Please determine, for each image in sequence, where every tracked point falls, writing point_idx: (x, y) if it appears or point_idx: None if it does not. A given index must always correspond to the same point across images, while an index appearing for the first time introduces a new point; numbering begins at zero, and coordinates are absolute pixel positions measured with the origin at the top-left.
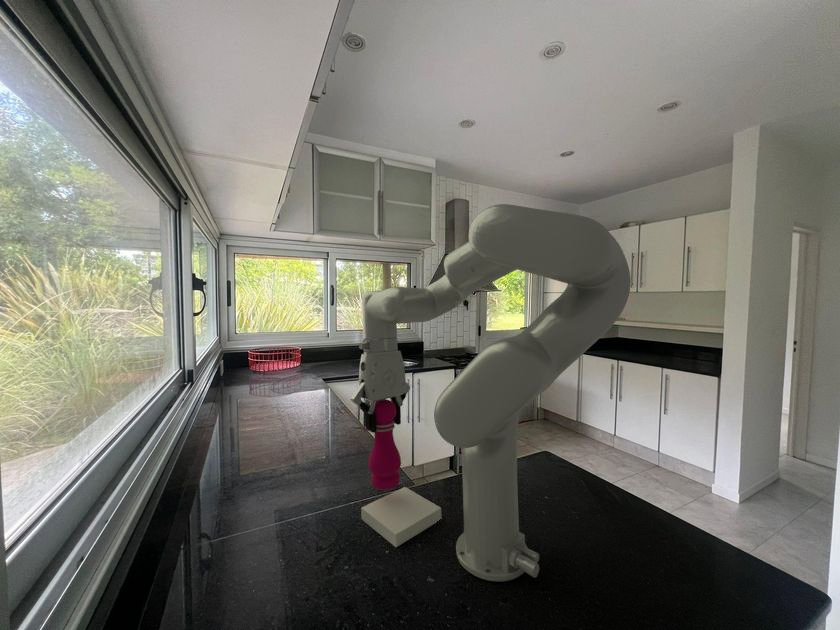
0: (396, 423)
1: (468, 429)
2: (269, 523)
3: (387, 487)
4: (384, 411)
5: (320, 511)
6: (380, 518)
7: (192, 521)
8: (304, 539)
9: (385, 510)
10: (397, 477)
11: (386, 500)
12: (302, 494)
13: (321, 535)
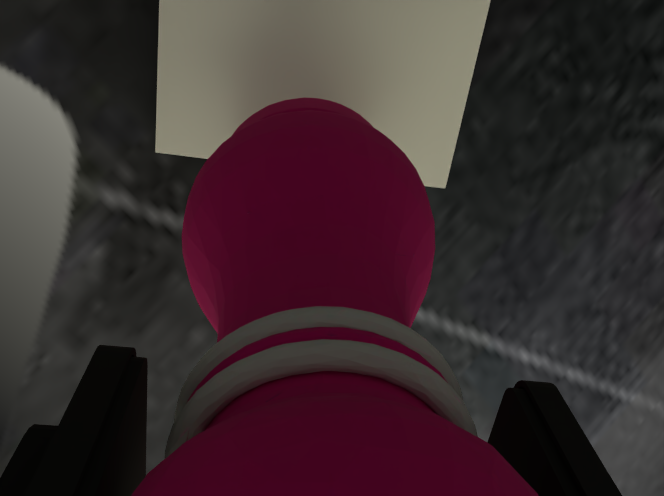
0: (146, 383)
1: None
2: (635, 408)
3: (361, 116)
4: None
5: (489, 340)
6: (461, 37)
7: None
8: (646, 242)
9: (393, 69)
10: (281, 111)
11: None
12: None
13: (599, 212)
